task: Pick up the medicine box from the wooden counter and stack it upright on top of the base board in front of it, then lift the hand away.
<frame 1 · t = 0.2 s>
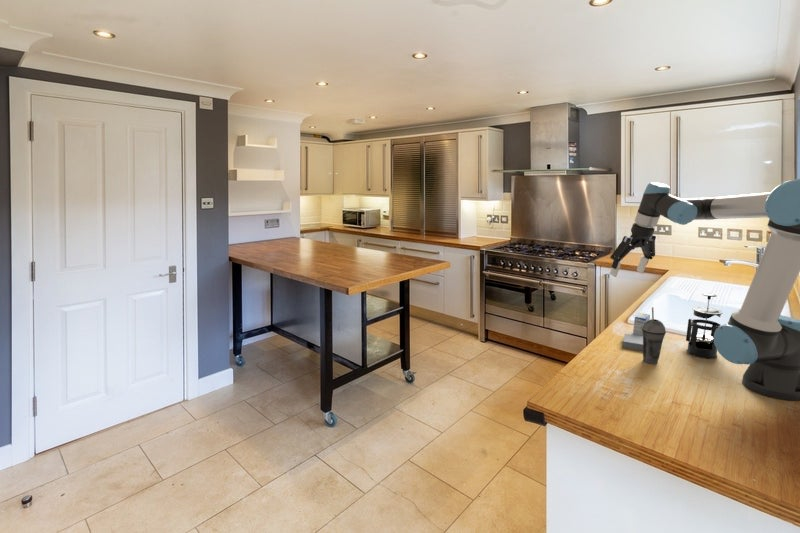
hand: (626, 273, 171), 27 cm above the worktop, tool tilted 20°, fingers open, 13 cm apart
base board: (639, 347, 168), on the worktop
medicine box: (640, 335, 180), on the worktop
french press: (700, 353, 161), on the worktop
beverage cup: (650, 362, 154), on the worktop
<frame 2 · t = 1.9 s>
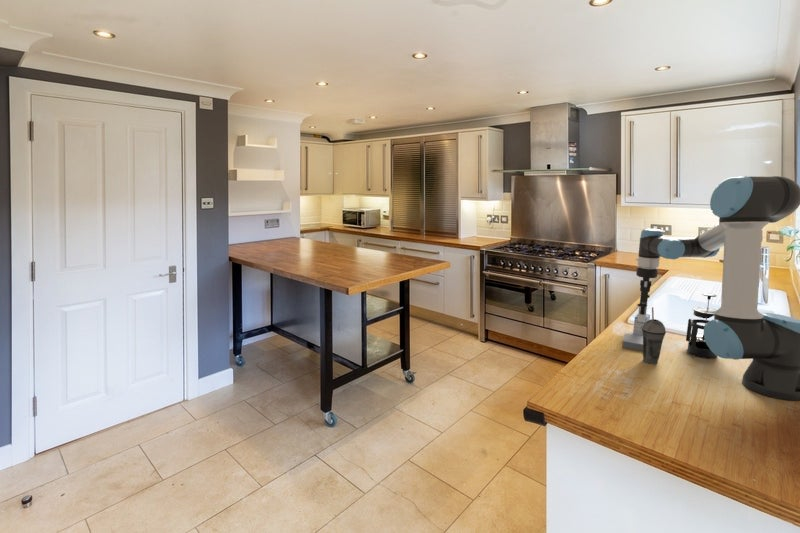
hand: (641, 317, 179), 8 cm above the worktop, tool pointing down, fingers open, 13 cm apart
nothing on the worktop moved.
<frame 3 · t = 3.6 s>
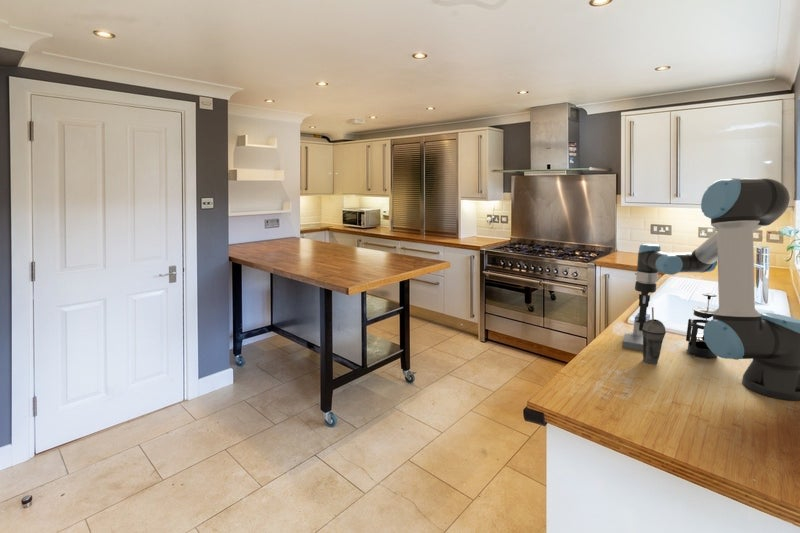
hand: (640, 334, 180), 0 cm above the worktop, tool pointing down, fingers closed on medicine box, 8 cm apart
medicine box: (640, 335, 180), on the worktop, touching gripper
everything else where it was.
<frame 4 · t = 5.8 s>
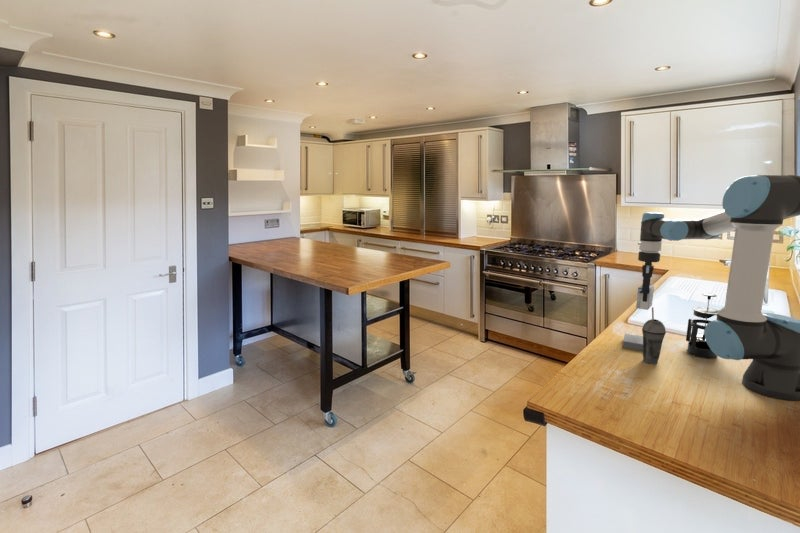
hand: (644, 306, 175), 13 cm above the worktop, tool pointing down, fingers closed on medicine box, 8 cm apart
medicine box: (644, 307, 175), point 13 cm above the worktop, touching gripper
everything else where it was.
when the fingers open (5 cm above the worktop, at t = 8.4 s): medicine box drops 2 cm, point 2 cm above the worktop.
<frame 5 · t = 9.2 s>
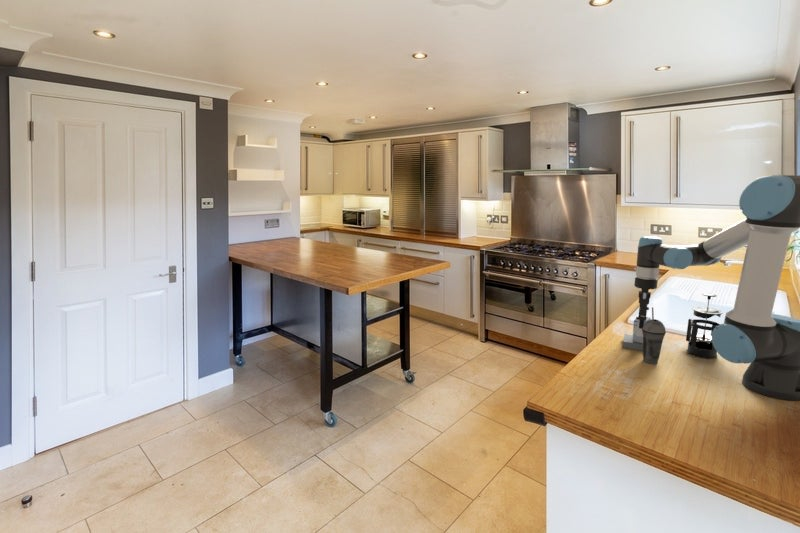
hand: (640, 330, 167), 6 cm above the worktop, tool pointing down, fingers open, 13 cm apart
medicine box: (640, 340, 167), point 2 cm above the worktop
everything else where it was.
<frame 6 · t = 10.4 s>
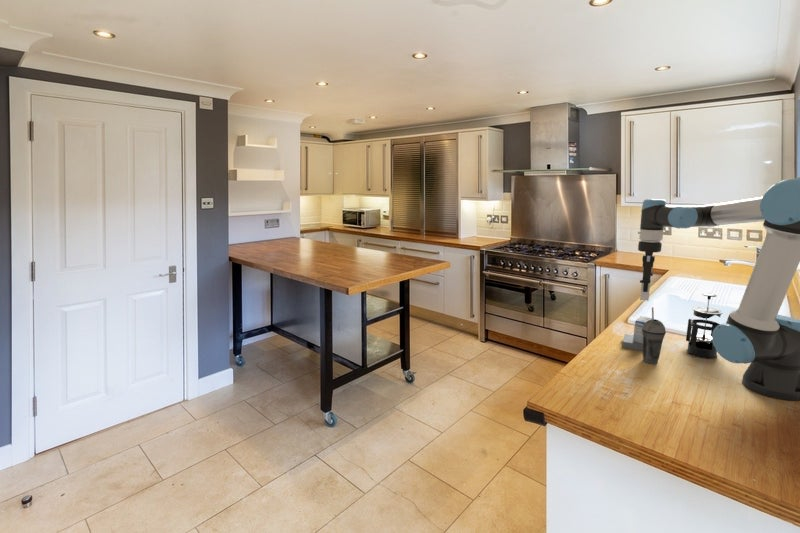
hand: (644, 296, 164), 20 cm above the worktop, tool pointing down, fingers open, 13 cm apart
base board: (638, 347, 168), on the worktop, touching medicine box
medicine box: (641, 341, 167), point 2 cm above the worktop, touching base board
everything else where it was.
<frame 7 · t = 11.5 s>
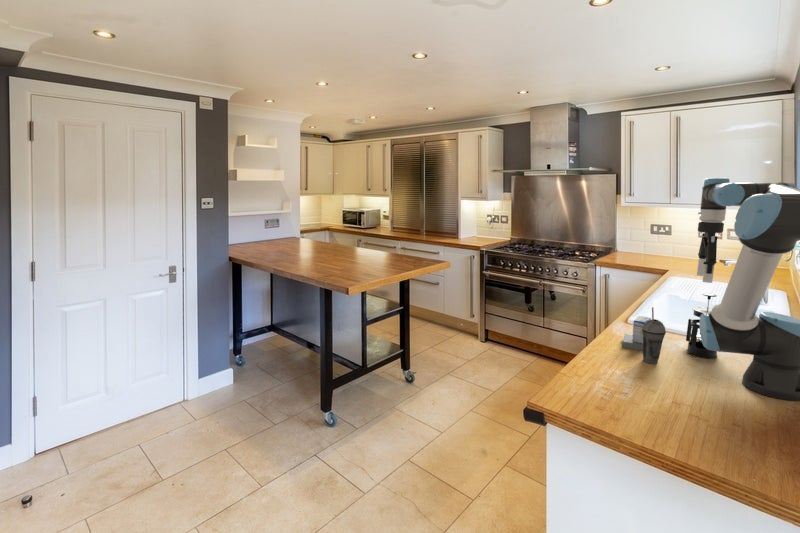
hand: (704, 279, 159), 28 cm above the worktop, tool pointing down, fingers open, 13 cm apart
nothing on the worktop moved.
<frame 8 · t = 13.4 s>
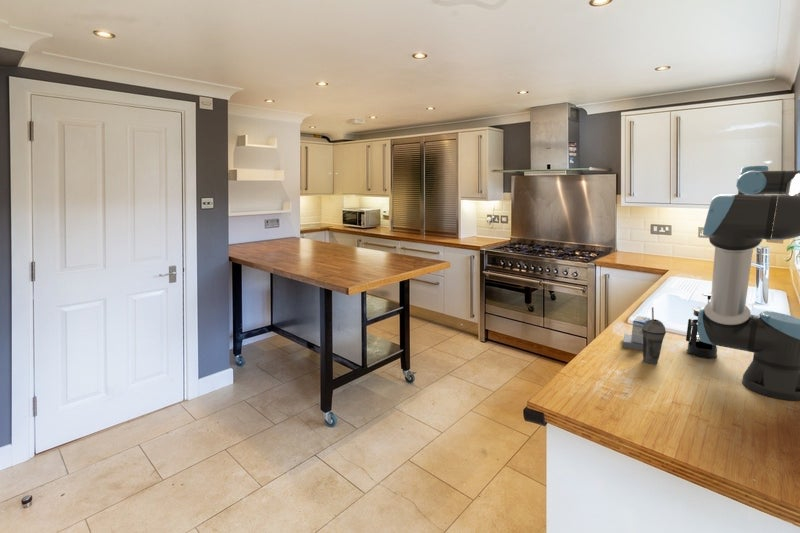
hand: (739, 269, 156), 32 cm above the worktop, tool pointing down, fingers open, 13 cm apart
nothing on the worktop moved.
at the end: medicine box inside the target area on the base board (0.4 cm from its centre), point 2.8 cm above the base board's base; medicine box tilted 0°; medicine box touching base board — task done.
